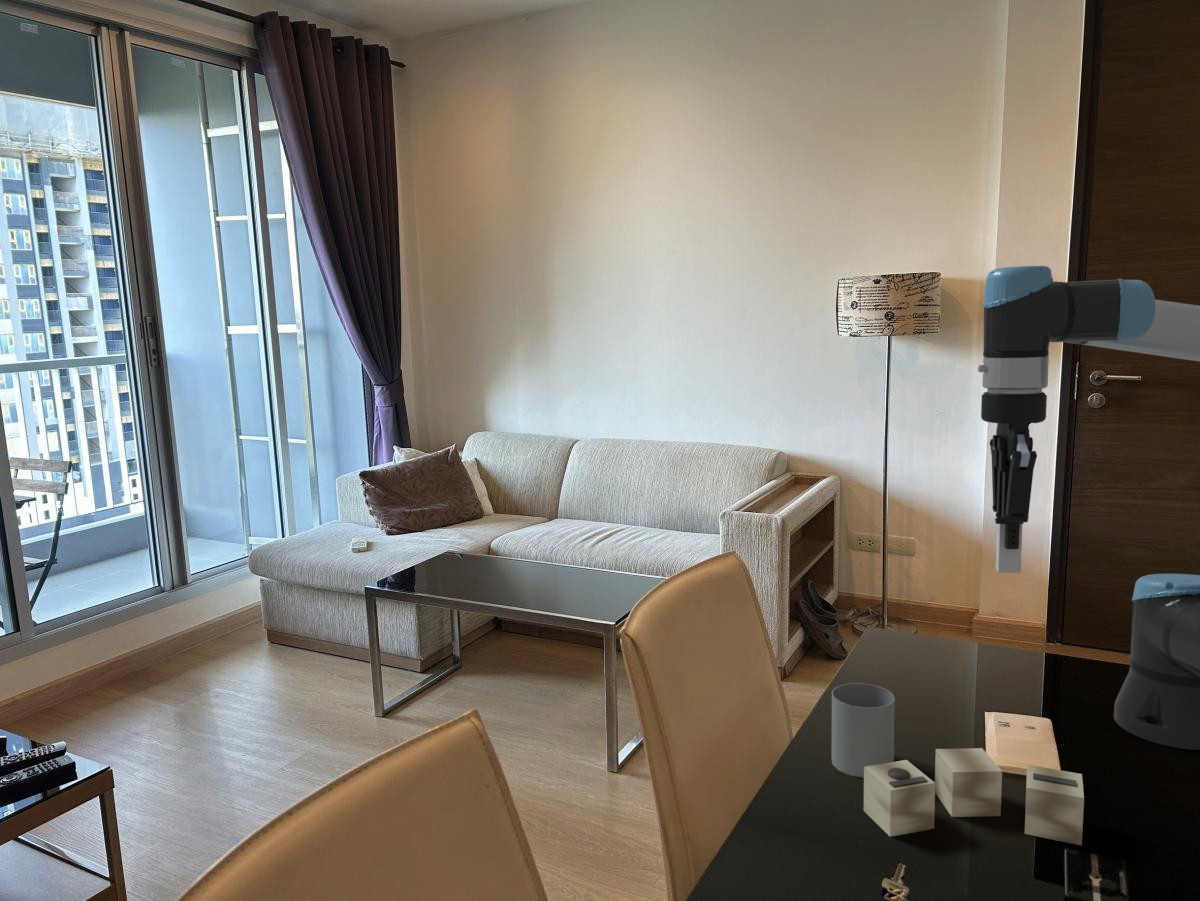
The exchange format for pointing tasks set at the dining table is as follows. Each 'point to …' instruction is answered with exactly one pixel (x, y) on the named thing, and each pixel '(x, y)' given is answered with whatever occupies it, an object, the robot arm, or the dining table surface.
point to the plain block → (968, 782)
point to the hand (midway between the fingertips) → (1008, 570)
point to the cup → (862, 727)
